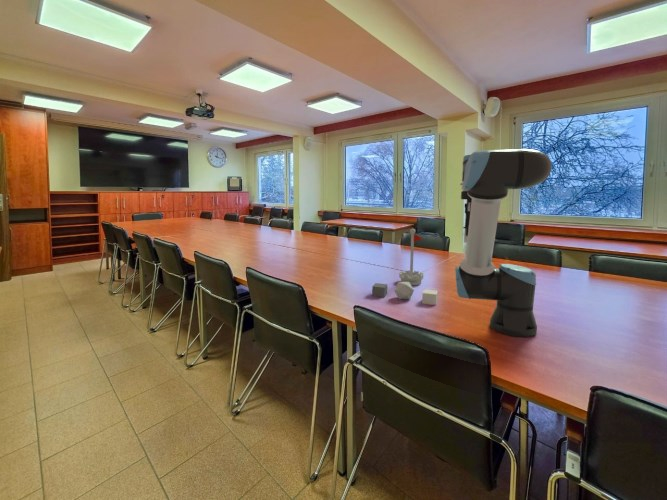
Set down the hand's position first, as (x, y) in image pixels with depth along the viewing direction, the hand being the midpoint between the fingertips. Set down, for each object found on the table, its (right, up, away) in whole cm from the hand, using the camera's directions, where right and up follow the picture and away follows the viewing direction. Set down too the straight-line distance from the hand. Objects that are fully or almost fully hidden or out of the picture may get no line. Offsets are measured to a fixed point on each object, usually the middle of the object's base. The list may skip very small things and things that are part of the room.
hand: (467, 242), depth 153 cm
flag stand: (-19, -22, +31) cm, 42 cm away
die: (-28, -27, +4) cm, 39 cm away
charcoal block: (-39, -26, +10) cm, 48 cm away
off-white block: (-18, -27, -2) cm, 33 cm away
